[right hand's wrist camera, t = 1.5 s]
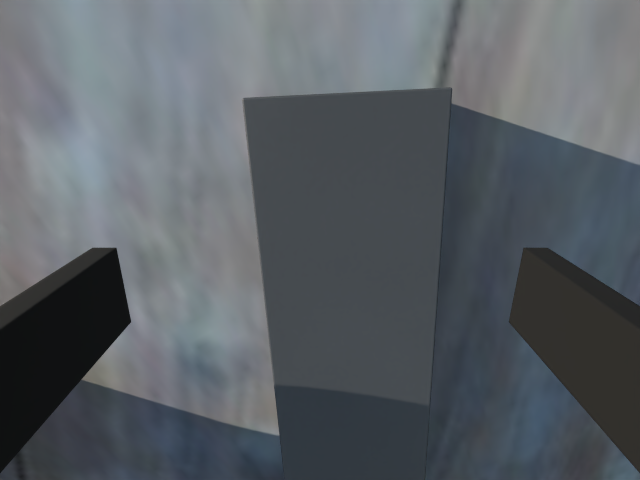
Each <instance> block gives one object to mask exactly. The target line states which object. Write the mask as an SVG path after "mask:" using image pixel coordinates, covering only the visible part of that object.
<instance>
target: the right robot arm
mask: <svg viewBox="0 0 640 480" xmlns="http://www.w3.org/2000/svg"><path fill="white" fill-rule="evenodd" d="M130 323H131V319H130V314H129V309H128V304H127V299H126V294H125V289H124V284H123V279H122V274H121V269H120V264H119V259H118V254H117V249H116V248H92V249H90V250H88V251H87V252H85V253H84V254H82V255H80V256H79V257H77V258H76V259H74V260H73V261H71V262H69V263H68V264H66V265H65V266H63V267H62V268H60V269H58V270H57V271H55V272H54V273H52V274H50V275H49V276H47V277H46V278H44V279H43V280H41V281H39V282H38V283H36V284H35V285H33V286H32V287H30V288H28V289H27V290H25V291H24V292H22V293H20V294H19V295H17V296H16V297H14V298H13V299H11V300H9V301H8V302H6V303H5V304H3V305H2V306H0V473H1V471H2V470H3V469H4V468H5V467H6V466H7V465H8V463H9V462H10V461H11V460H12V459H13V458H14V456H15V455H16V454H17V453H18V452H19V451H20V450H21V448H22V447H23V446H24V445H25V444H26V443H27V441H28V440H29V439H30V438H31V437H32V436H33V435H34V433H35V432H36V431H37V430H38V429H39V428H40V426H41V425H42V424H43V423H44V422H45V421H46V420H47V418H48V417H49V416H50V415H51V414H52V413H53V411H54V410H55V409H56V408H57V407H58V406H59V405H60V403H61V402H62V401H63V400H64V399H65V398H66V396H67V395H68V394H69V393H70V392H71V391H72V390H73V388H74V387H75V386H76V385H77V384H78V383H79V381H80V380H81V379H82V378H83V377H84V376H85V374H86V373H87V372H88V371H89V370H90V369H91V368H92V366H93V365H94V364H95V363H96V362H97V361H98V359H99V358H100V357H101V356H102V355H103V354H104V353H105V351H106V350H107V349H108V348H109V347H110V346H111V344H112V343H113V342H114V341H115V340H116V339H117V338H118V336H119V335H120V334H121V333H122V332H123V331H124V329H125V328H126V327H127V326H128V325H129V324H130ZM509 323H510V324H511V325H512V326H513V327H514V328H515V329H516V331H517V332H518V333H519V334H520V335H521V336H522V338H523V339H524V340H525V341H526V342H527V343H528V344H529V346H530V347H531V348H532V349H533V350H534V351H535V353H536V354H537V355H538V356H539V357H540V358H541V359H542V361H543V362H544V363H545V364H546V365H547V366H548V368H549V369H550V370H551V371H552V372H553V373H554V374H555V376H556V377H557V378H558V379H559V380H560V381H561V383H562V384H563V385H564V386H565V387H566V388H567V390H568V391H569V392H570V393H571V394H572V395H573V396H574V398H575V399H576V400H577V401H578V402H579V403H580V405H581V406H582V407H583V408H584V409H585V410H586V411H587V413H588V414H589V415H590V416H591V417H592V418H593V420H594V421H595V422H596V423H597V424H598V425H599V426H600V428H601V429H602V430H603V431H604V432H605V433H606V435H607V436H608V437H609V438H610V439H611V440H612V441H613V443H614V444H615V445H616V446H617V447H618V448H619V450H620V451H621V452H622V453H623V454H624V455H625V456H626V458H627V459H628V460H629V461H630V462H631V463H632V465H633V466H634V467H635V468H636V469H637V470H638V471H639V473H640V306H638V305H637V304H635V303H634V302H632V301H631V300H629V299H627V298H626V297H624V296H623V295H621V294H620V293H618V292H616V291H615V290H613V289H612V288H610V287H608V286H607V285H605V284H604V283H602V282H601V281H599V280H597V279H596V278H594V277H593V276H591V275H590V274H588V273H586V272H585V271H583V270H582V269H580V268H578V267H577V266H575V265H574V264H572V263H571V262H569V261H567V260H566V259H564V258H563V257H561V256H560V255H558V254H556V253H555V252H553V251H552V250H550V249H548V248H524V249H523V254H522V259H521V264H520V269H519V274H518V279H517V284H516V289H515V294H514V299H513V304H512V309H511V314H510V319H509Z"/></svg>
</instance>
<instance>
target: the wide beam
mask: <svg viewBox="0 0 640 480" xmlns="http://www.w3.org/2000/svg"><path fill="white" fill-rule="evenodd" d="M451 98H452V88H432V89H412V90H392V91H373V92H353V93H333V94H313V95H294V96H274V97H254V98H243V100H242V101H243V110H244V119H245V128H246V137H247V146H248V155H249V164H250V173H251V182H252V191H253V200H254V209H255V218H256V227H257V236H258V245H259V254H260V263H261V272H262V281H263V290H264V299H265V308H266V317H267V326H268V335H269V344H270V353H271V362H272V371H273V380H274V389H275V398H276V407H277V416H278V425H279V434H280V443H281V451H282V460H283V469H284V478H285V480H425V470H426V456H427V442H428V427H429V413H430V399H431V384H432V370H433V356H434V342H435V327H436V313H437V299H438V284H439V270H440V256H441V241H442V227H443V213H444V198H445V184H446V170H447V155H448V141H449V127H450V112H451Z"/></svg>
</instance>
